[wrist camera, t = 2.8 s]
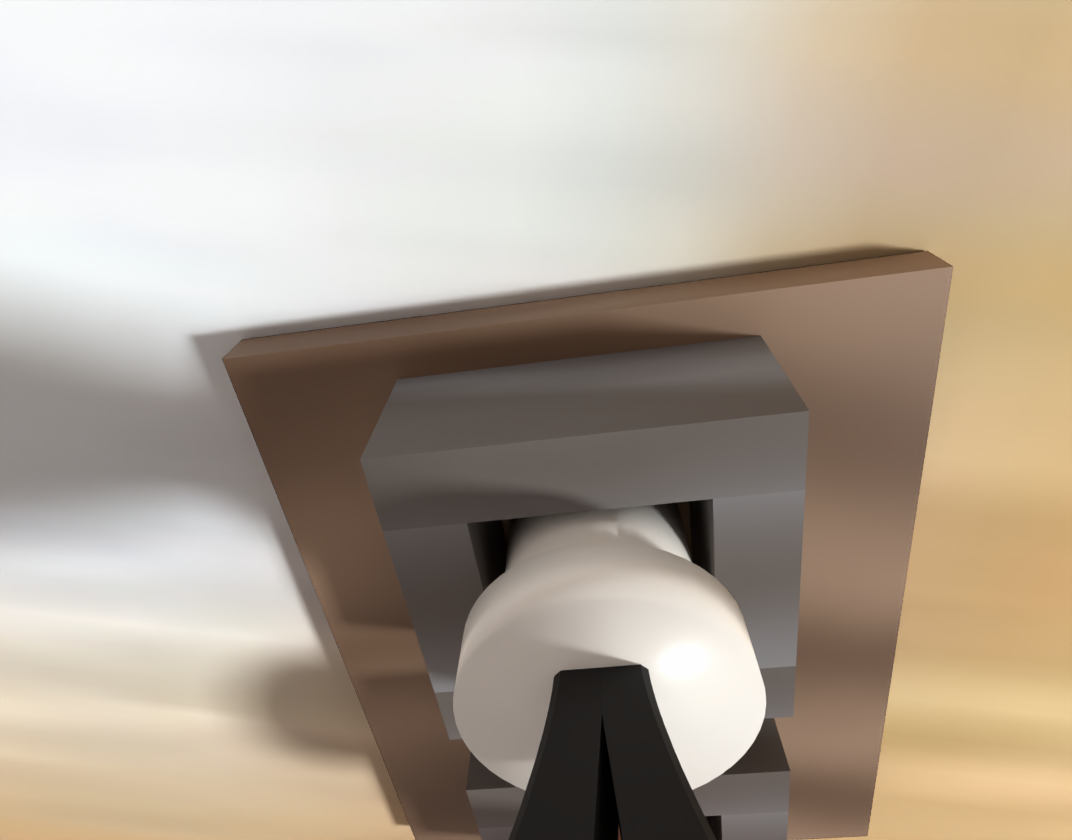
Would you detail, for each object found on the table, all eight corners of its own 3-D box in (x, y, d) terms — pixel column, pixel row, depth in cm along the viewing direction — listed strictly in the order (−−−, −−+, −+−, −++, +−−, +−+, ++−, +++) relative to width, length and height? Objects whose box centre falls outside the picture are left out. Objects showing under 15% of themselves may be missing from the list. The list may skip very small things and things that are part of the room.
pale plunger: (713, 607, 15) (764, 798, 12) (502, 624, 16) (483, 813, 12) (708, 422, 13) (769, 583, 9) (460, 449, 14) (421, 614, 10)
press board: (855, 804, 22) (910, 949, 19) (428, 827, 24) (405, 966, 20) (927, 250, 13) (1056, 329, 10) (242, 339, 15) (144, 435, 11)
